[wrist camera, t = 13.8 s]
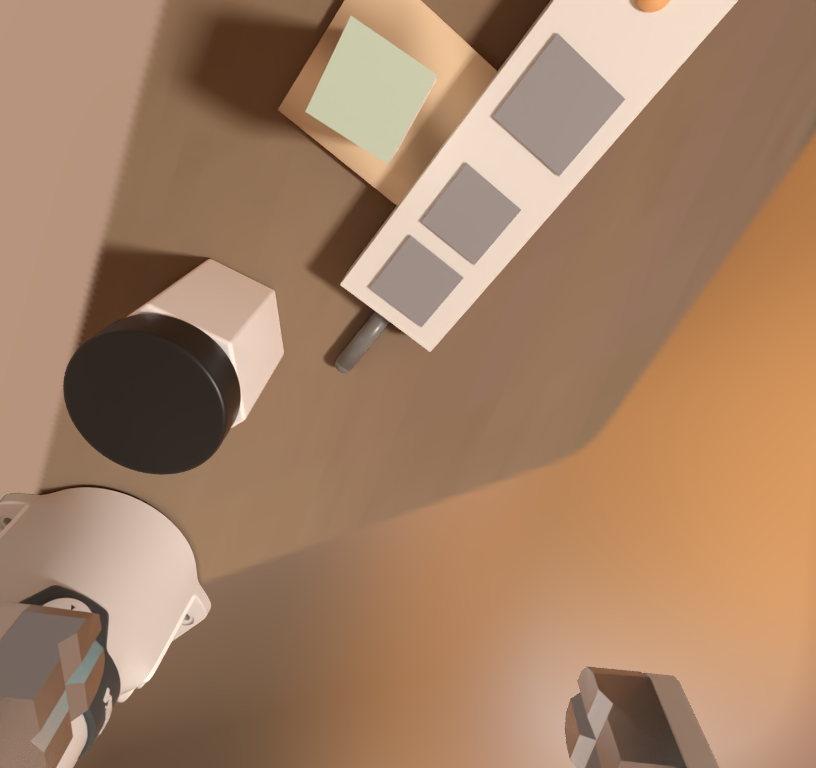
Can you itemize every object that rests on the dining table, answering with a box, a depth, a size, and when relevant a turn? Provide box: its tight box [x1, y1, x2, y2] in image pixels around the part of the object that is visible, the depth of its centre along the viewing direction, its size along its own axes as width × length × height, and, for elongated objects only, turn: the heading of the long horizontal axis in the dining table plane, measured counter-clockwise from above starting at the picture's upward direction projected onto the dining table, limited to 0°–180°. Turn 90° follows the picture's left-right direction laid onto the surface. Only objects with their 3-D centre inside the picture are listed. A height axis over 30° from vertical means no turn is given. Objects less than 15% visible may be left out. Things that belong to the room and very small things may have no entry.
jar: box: [63, 259, 284, 475], centre depth 34 cm, size 9×8×12 cm
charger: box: [305, 16, 437, 164], centre depth 29 cm, size 4×4×8 cm
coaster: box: [278, 0, 498, 205], centre depth 33 cm, size 9×9×1 cm
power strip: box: [335, 0, 738, 373], centre depth 34 cm, size 30×7×3 cm, turn 142°
